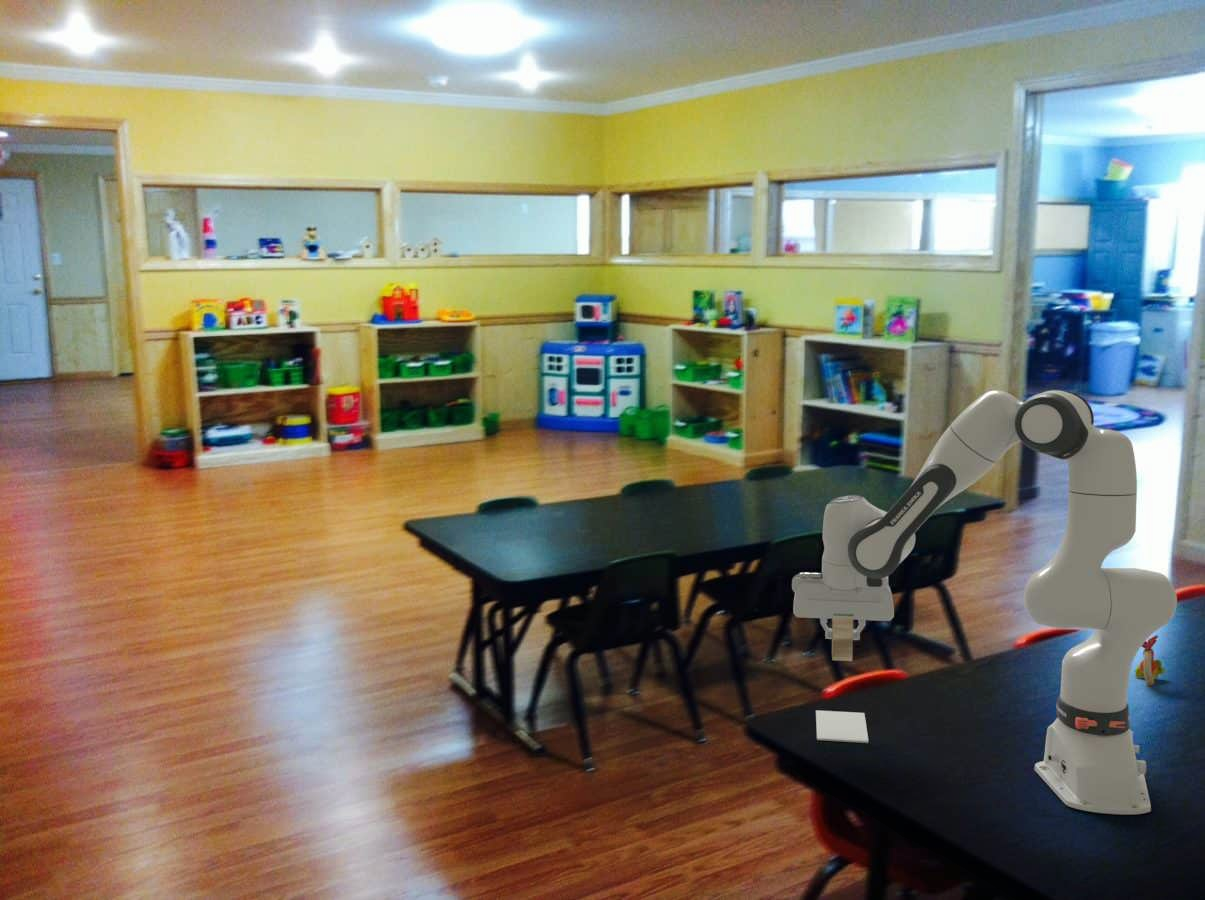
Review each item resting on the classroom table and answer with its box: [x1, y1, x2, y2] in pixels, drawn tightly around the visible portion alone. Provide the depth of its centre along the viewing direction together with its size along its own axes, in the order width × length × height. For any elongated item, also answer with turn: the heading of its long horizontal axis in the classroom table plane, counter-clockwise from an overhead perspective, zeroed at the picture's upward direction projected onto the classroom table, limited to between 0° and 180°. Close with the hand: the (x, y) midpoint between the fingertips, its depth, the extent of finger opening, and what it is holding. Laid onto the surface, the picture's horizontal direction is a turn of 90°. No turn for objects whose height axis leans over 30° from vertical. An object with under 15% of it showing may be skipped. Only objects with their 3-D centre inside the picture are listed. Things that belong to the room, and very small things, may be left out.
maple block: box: [831, 614, 854, 662], centre depth 225 cm, size 4×4×10 cm
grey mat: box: [815, 710, 869, 744], centre depth 223 cm, size 14×10×1 cm
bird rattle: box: [1134, 634, 1166, 687], centre depth 244 cm, size 6×11×9 cm
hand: (842, 638), depth 225 cm, fingers closed on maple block, 4 cm apart
